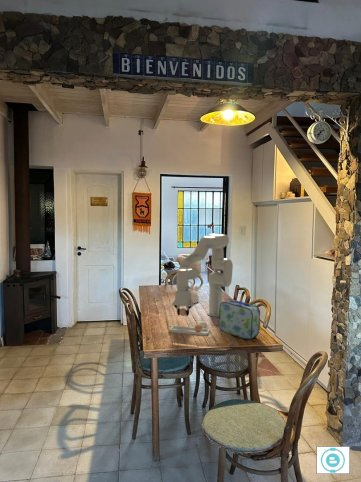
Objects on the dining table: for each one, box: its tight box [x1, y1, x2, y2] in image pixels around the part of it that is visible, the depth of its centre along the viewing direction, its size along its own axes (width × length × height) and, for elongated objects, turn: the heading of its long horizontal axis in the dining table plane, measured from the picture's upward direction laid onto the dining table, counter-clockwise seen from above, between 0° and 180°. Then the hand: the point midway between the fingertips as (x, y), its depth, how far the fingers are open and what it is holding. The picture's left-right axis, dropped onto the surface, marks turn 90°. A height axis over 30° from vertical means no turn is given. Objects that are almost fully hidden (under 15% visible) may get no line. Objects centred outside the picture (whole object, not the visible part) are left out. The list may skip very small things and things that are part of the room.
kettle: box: [188, 280, 200, 305], centre depth 285 cm, size 20×21×18 cm
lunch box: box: [218, 298, 261, 340], centre depth 205 cm, size 26×11×21 cm, turn 45°
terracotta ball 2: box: [194, 323, 202, 332], centre depth 207 cm, size 5×5×5 cm
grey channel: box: [168, 325, 211, 337], centre depth 208 cm, size 8×24×2 cm, turn 76°
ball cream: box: [199, 320, 208, 329], centre depth 214 cm, size 5×5×5 cm
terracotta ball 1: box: [179, 307, 187, 317], centre depth 218 cm, size 5×5×5 cm
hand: (183, 315), depth 218 cm, fingers closed on terracotta ball 1, 4 cm apart
